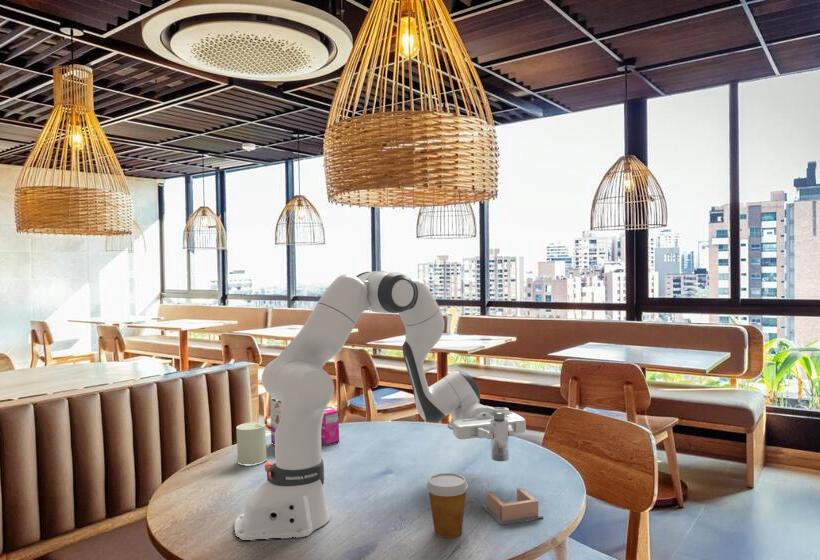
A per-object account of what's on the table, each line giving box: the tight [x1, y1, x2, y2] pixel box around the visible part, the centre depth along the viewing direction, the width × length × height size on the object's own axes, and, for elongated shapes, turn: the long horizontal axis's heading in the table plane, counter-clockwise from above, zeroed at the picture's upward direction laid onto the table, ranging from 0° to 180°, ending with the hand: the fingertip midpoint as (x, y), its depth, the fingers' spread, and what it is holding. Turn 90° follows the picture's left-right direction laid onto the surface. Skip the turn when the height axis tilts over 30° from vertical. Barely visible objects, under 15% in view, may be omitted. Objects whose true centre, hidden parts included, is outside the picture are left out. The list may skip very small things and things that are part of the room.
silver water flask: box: [490, 412, 510, 462], centre depth 148 cm, size 4×4×12 cm
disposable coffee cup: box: [426, 472, 469, 539], centre depth 130 cm, size 10×10×12 cm
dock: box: [481, 487, 544, 526], centre depth 139 cm, size 11×11×4 cm
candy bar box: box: [269, 397, 282, 445], centre depth 197 cm, size 11×5×16 cm, turn 40°
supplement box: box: [321, 407, 340, 446], centre depth 199 cm, size 6×6×12 cm
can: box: [235, 421, 267, 464], centre depth 182 cm, size 9×9×12 cm
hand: (501, 434), depth 147 cm, fingers closed on silver water flask, 4 cm apart
